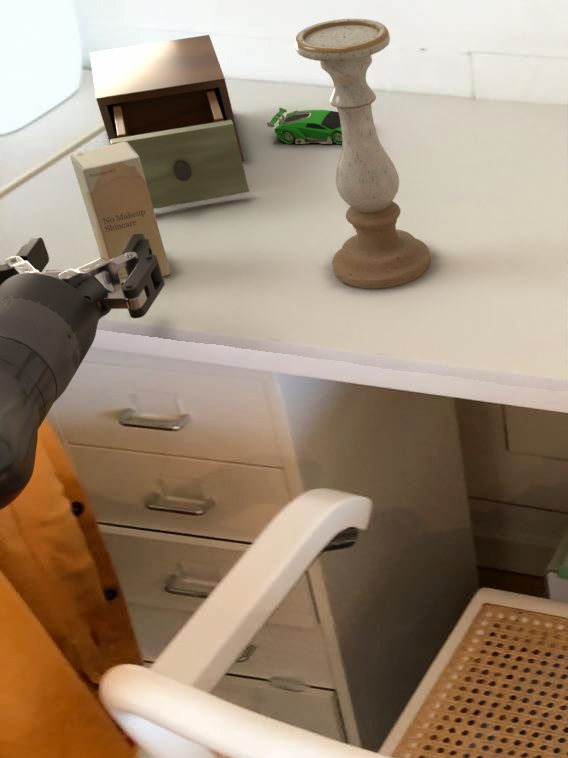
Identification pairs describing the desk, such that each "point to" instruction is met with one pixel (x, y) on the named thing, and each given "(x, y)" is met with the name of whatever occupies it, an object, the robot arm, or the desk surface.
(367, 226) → the candle holder
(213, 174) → the drawer
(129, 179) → the box
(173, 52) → the cabinet
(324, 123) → the toy car
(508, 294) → the desk surface
